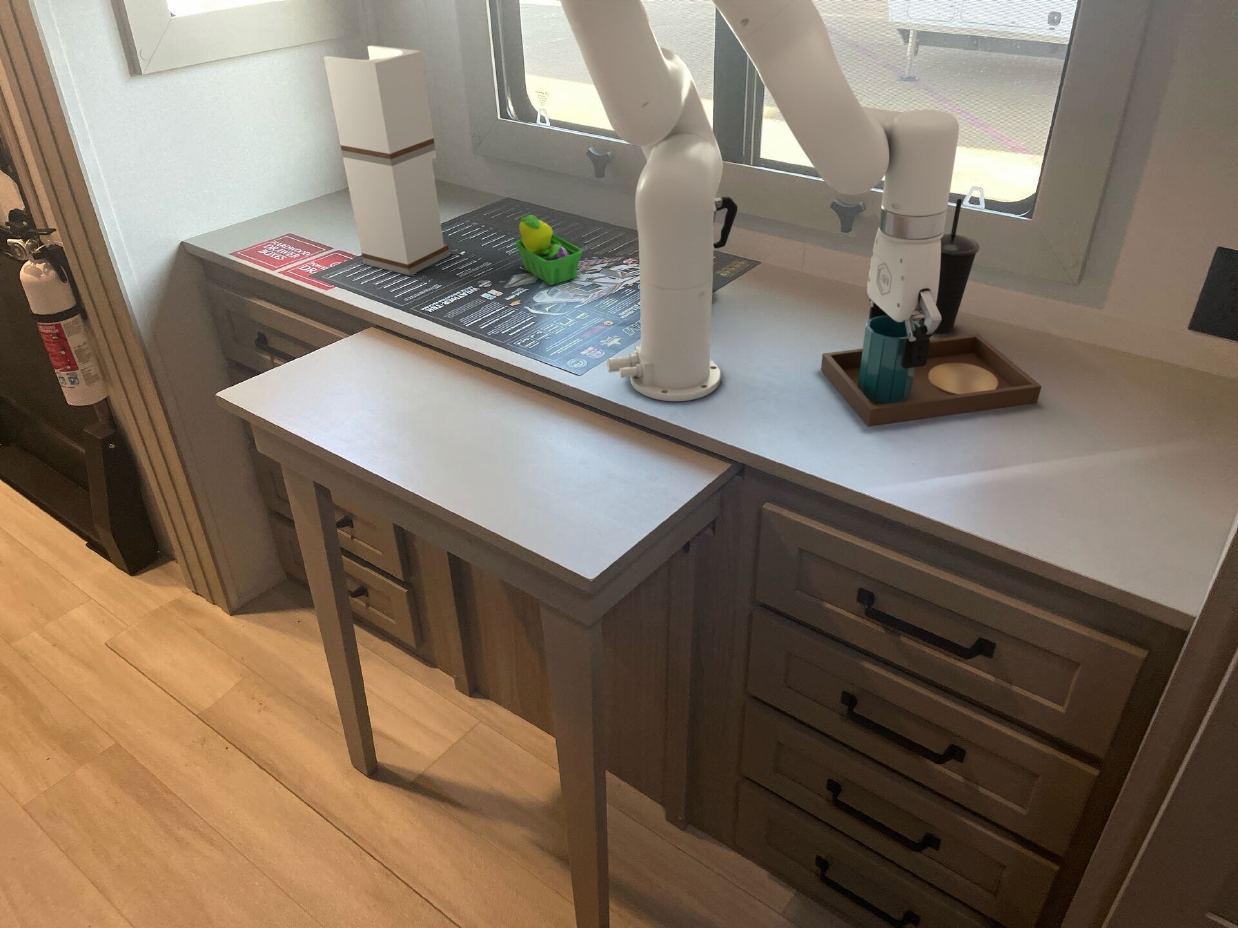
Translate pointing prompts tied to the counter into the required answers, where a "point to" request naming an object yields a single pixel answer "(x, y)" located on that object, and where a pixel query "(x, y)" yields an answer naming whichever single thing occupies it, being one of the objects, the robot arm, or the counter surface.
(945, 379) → the coaster
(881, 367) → the cup
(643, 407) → the counter surface
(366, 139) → the striped cream pillar
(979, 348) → the tray
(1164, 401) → the counter surface
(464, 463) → the counter surface
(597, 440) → the counter surface
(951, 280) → the drinking cup
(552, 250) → the fruit basket
